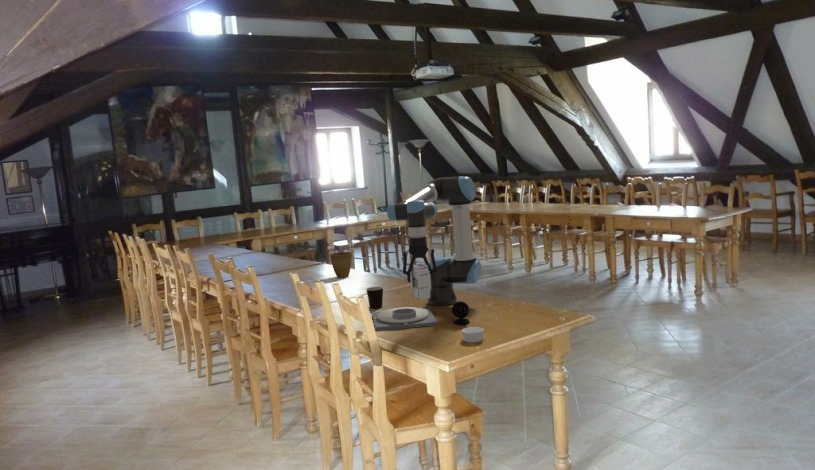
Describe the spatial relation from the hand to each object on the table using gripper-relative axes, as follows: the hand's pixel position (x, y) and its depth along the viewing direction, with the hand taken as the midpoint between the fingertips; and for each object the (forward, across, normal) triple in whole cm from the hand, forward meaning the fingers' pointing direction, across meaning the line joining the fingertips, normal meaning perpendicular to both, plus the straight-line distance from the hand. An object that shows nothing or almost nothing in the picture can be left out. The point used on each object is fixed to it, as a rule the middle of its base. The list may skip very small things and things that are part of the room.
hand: (420, 288), depth 274 cm
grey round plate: (+17, -7, +21) cm, 28 cm away
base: (+19, -7, +21) cm, 29 cm away
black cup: (+19, -18, +53) cm, 59 cm away
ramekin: (+19, +18, -20) cm, 33 cm away
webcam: (+19, +18, +7) cm, 27 cm away
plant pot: (+20, -35, +146) cm, 152 cm away
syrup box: (+4, 0, 0) cm, 4 cm away
